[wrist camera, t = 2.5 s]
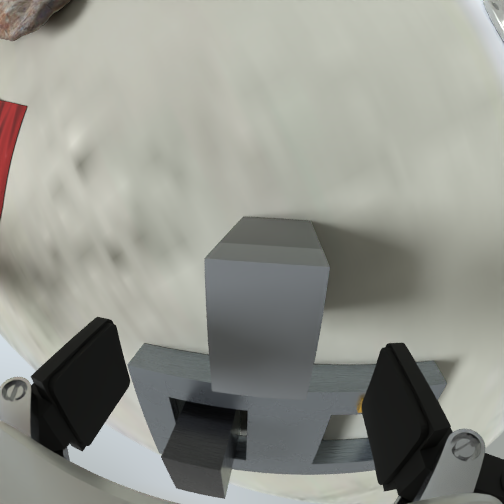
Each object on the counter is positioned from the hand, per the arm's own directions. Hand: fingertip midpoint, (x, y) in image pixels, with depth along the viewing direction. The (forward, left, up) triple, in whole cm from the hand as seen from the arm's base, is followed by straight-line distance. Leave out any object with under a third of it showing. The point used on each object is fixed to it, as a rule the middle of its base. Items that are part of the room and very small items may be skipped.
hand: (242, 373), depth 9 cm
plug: (-1, -1, -9) cm, 9 cm away
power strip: (-3, +13, -9) cm, 17 cm away
